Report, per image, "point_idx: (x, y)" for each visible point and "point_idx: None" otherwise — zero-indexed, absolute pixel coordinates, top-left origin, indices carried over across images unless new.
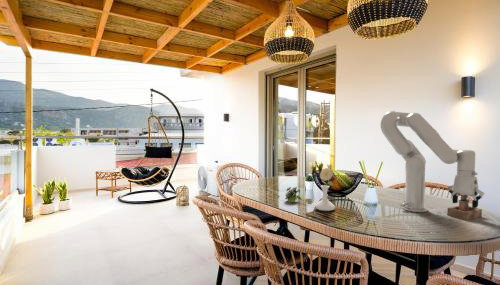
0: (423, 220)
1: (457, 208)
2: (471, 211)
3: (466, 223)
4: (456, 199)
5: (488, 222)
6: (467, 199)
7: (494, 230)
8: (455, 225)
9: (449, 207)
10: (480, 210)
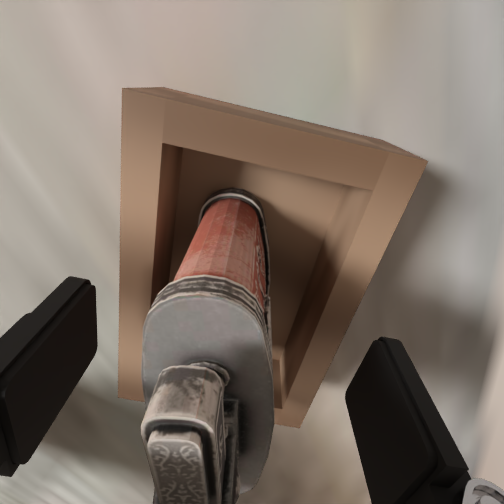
0: (146, 500)
1: (157, 286)
2: (330, 362)
3: (320, 420)
4: (62, 354)
5: (449, 300)
6: (224, 324)
7: (477, 433)
8: (286, 477)
9: (119, 377)
10: (403, 192)
